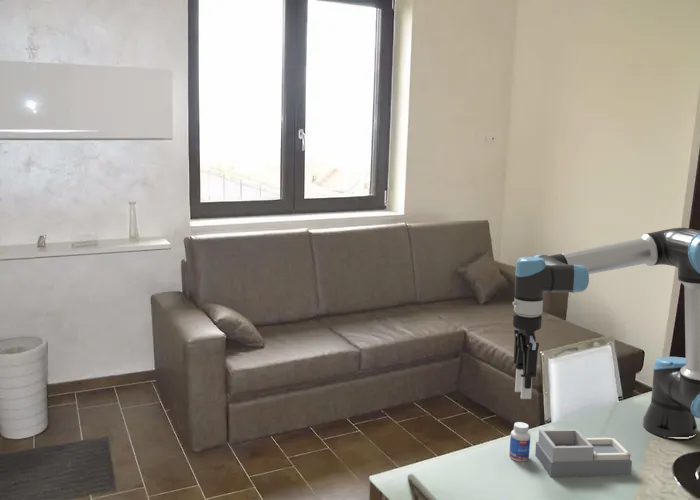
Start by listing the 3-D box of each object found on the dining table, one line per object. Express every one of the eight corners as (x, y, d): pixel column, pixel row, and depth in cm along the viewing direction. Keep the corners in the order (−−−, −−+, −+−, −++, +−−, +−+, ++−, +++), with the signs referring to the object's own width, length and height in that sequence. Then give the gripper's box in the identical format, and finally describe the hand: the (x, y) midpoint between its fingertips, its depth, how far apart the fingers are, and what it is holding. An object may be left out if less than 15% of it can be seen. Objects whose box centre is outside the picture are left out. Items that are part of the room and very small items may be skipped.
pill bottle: (518, 463, 176) (520, 430, 175) (505, 455, 181) (507, 423, 180) (533, 459, 179) (535, 426, 177) (519, 451, 184) (521, 419, 182)
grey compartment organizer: (610, 453, 183) (612, 427, 181) (630, 475, 171) (633, 447, 169) (535, 455, 181) (536, 428, 180) (550, 476, 170) (552, 448, 168)
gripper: (504, 305, 181) (500, 383, 185) (524, 322, 164) (519, 407, 168) (530, 305, 182) (525, 383, 186) (552, 322, 165) (547, 407, 169)
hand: (522, 394), depth 177 cm, fingers open, 4 cm apart
